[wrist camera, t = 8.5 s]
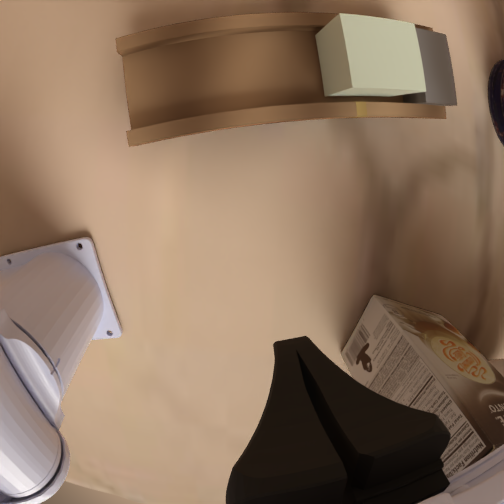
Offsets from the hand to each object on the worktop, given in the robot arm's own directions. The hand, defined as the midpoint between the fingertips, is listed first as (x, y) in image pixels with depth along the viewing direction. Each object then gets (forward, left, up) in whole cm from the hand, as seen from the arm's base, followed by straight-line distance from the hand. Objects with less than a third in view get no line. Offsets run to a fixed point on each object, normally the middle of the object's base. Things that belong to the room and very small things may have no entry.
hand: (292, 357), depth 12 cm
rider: (+6, +12, -7) cm, 15 cm away
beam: (+3, +12, -10) cm, 16 cm away
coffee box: (+11, -9, -10) cm, 17 cm away
